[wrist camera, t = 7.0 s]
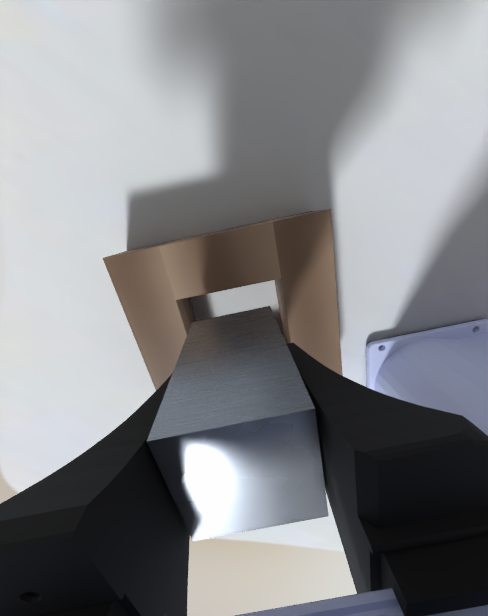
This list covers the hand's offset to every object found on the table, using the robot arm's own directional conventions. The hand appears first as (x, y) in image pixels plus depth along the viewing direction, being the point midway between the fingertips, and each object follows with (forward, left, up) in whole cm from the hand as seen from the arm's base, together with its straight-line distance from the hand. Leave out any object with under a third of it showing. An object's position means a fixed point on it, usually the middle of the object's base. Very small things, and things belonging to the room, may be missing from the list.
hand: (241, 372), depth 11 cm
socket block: (0, 0, -7) cm, 7 cm away
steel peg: (0, 0, -2) cm, 2 cm away
